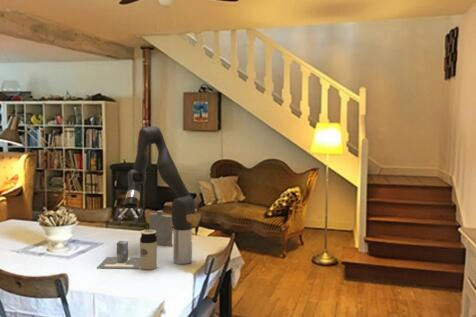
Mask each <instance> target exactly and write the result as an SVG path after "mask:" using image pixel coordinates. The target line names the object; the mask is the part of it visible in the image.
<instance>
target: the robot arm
mask: <svg viewBox="0 0 476 317" xmlns="http://www.w3.org/2000/svg"><path fill="white" fill-rule="evenodd" d="M153 144H154V145H155V146H156V148H157V151H158V156H157V160H156V169H157V171H158V174H159V176H160V178H161V179H162V181H163V182H164V183H165V184H166V185H167V186H168V187H169V188H170V189H171V190H172V191H173V192H174V193H175V195H176V198H175V199H173V201H171V216H172V227H173V244H172V246H173V247H172V248H173V258H172V259H173V263H174V264H176V265H177V264H178V265H187V264H191V263H192V260H193V242H192V240H193V238H192V237H193V234H192V231H193V230H192V228H193V224H192V222H191V221H188V220H187V216H188V215H191V214H192V213H194V212H195V210H196V203H195V201H194V198H193V197H192V195H191V193H190V192H189V190H188V189H187V187H186V184H185V183H184V181H183V179H182V177H181V175H180V173H179V171H178V170H179V169H178V167H177V165H176V164H175V162H174V160H173V158H172V156H171V154H170V152H169V148H168V147H167V144H166V141H165V138H164V135H163V133H162V131H161V129H160V127H158V126H156V125H152V126H147V127H146V126H145V127H143V128H141V129H140V130H139V131H138V137H137V146H136V147H137V150H136V156H135V160H134V164H133V169H130V170H129V171H128V172H127V184H128V186H127V192H126V195H125V199H124V202H123V208H120V207H117V208H116V210H115V213H114V217H115V220H117V221H116V223H117V226H118V227H121V223H122V220H123V219H124V218H126V217H134V218H135V219H134V223H133V225H134V227H137V226H138V224H139V221H140V220H143V219H144V218H143V216H144V209H143V207H140V208H139V204H140V200H141V199H140V198H141V190H142V185H143V184H145V182H146V181H147V167H148V163H149V155H148V153H147V151H146V149H147V146H149V145H150V146H151V145H153ZM137 213H139V216H138V215H137Z"/></svg>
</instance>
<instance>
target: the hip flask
mask: <svg viewBox="0 0 476 317" xmlns="http://www.w3.org/2000/svg"><path fill="white" fill-rule="evenodd" d="M163 213H164V211H163V210H157V211H156V212H154V213H153V212H150V213H149V215H148V216H149V227H148V228H149V229H148V230H155V231H156V234H155V235H156V237H157V246H159V245H160V247H166V246H171V247H172V246H173V223H172V215H169V214H168V215H167V214H163Z"/></svg>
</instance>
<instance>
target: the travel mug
mask: <svg viewBox="0 0 476 317" xmlns="http://www.w3.org/2000/svg"><path fill="white" fill-rule="evenodd" d="M140 234H141V236H140V238H139V258H140V267H139V268H140V269H141V270H145V271H150V270H154V269H156V268H157V266H158V265H157V264H158V260H157V258H158V245H157V237H156V235H155V234H156V231H155V230H149V229H143V230H141V231H140Z"/></svg>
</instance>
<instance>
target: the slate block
mask: <svg viewBox="0 0 476 317" xmlns="http://www.w3.org/2000/svg"><path fill="white" fill-rule="evenodd" d="M116 257H117V263H126V262H127V261H128V257H129V241H128V240H119V241H118V242H117V243H116Z"/></svg>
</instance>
